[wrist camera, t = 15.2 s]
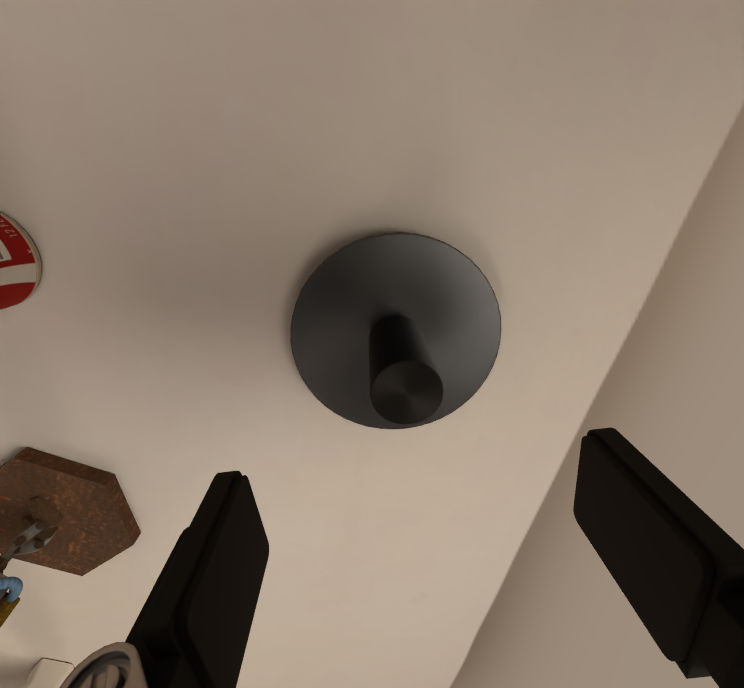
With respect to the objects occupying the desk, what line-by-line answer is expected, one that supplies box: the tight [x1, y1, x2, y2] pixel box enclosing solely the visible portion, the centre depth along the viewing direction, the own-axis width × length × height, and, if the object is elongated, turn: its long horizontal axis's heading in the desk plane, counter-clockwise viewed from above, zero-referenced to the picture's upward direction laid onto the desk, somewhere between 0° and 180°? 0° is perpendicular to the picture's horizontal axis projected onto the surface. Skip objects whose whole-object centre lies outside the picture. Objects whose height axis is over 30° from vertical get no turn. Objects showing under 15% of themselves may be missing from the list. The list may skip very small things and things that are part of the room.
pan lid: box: [291, 232, 501, 429], centre depth 18 cm, size 11×11×7 cm
